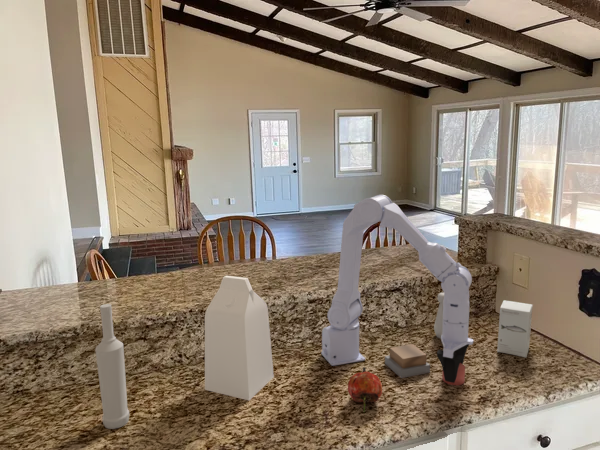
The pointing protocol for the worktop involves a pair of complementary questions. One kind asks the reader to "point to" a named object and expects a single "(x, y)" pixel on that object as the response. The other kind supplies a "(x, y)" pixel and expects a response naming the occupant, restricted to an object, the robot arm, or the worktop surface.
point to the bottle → (111, 374)
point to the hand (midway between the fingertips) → (453, 374)
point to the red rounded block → (460, 376)
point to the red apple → (365, 387)
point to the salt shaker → (439, 316)
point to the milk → (237, 341)
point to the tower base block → (406, 371)
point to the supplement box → (514, 328)
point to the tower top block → (408, 356)
